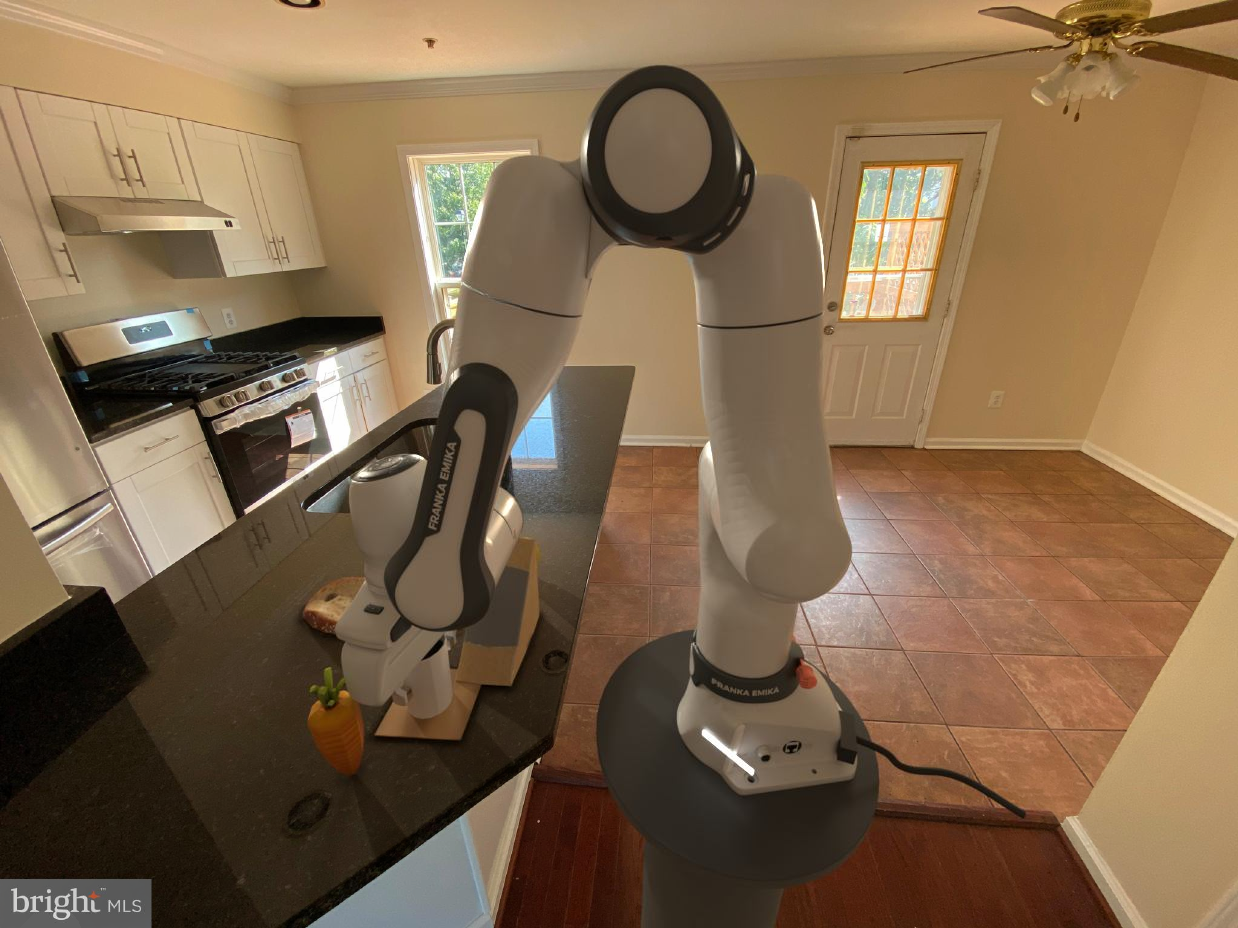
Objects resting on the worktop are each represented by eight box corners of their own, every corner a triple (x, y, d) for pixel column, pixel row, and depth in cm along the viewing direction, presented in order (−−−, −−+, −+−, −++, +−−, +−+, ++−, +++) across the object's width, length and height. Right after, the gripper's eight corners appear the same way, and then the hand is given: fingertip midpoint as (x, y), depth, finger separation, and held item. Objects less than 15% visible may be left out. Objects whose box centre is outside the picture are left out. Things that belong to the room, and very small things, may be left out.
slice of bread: (447, 605, 85) (444, 587, 84) (337, 665, 73) (331, 645, 72) (398, 563, 96) (395, 547, 95) (295, 609, 84) (289, 591, 83)
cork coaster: (486, 671, 72) (486, 670, 72) (460, 740, 62) (460, 739, 62) (412, 668, 73) (412, 667, 73) (374, 735, 63) (374, 734, 63)
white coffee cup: (396, 698, 68) (382, 641, 64) (443, 673, 72) (433, 618, 68) (415, 731, 63) (402, 672, 59) (464, 702, 67) (455, 645, 63)
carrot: (345, 751, 61) (316, 658, 55) (384, 755, 60) (358, 662, 54) (319, 792, 56) (283, 695, 50) (360, 796, 56) (330, 700, 50)
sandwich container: (452, 681, 70) (438, 594, 64) (491, 610, 84) (482, 533, 78) (511, 687, 69) (502, 600, 64) (540, 614, 83) (535, 537, 78)
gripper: (439, 536, 69) (452, 614, 75) (321, 638, 51) (349, 731, 57) (479, 543, 68) (489, 623, 73) (372, 651, 50) (396, 745, 55)
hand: (427, 671), depth 65 cm, fingers open, 8 cm apart
